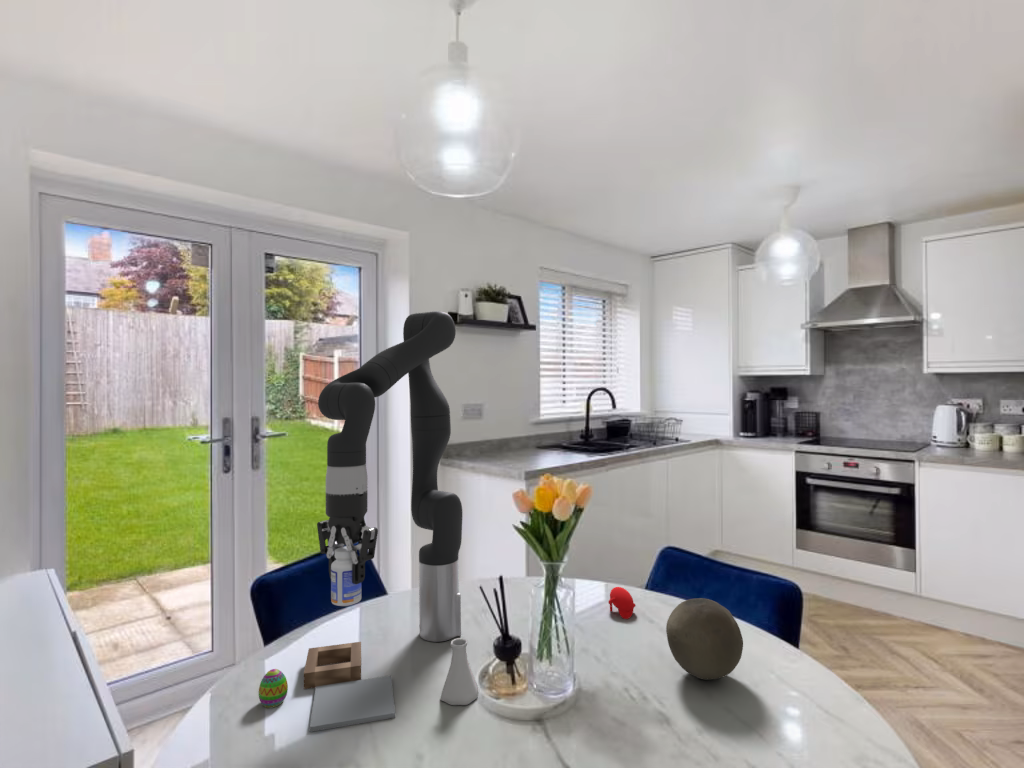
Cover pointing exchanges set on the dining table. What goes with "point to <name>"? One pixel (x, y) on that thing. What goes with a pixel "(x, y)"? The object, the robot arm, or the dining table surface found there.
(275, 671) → the egg
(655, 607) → the dining table surface
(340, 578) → the pill bottle
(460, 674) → the flask
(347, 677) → the walnut socket
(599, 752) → the dining table surface
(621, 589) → the red rounded figure
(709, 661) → the grey river stone
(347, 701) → the slate mat
